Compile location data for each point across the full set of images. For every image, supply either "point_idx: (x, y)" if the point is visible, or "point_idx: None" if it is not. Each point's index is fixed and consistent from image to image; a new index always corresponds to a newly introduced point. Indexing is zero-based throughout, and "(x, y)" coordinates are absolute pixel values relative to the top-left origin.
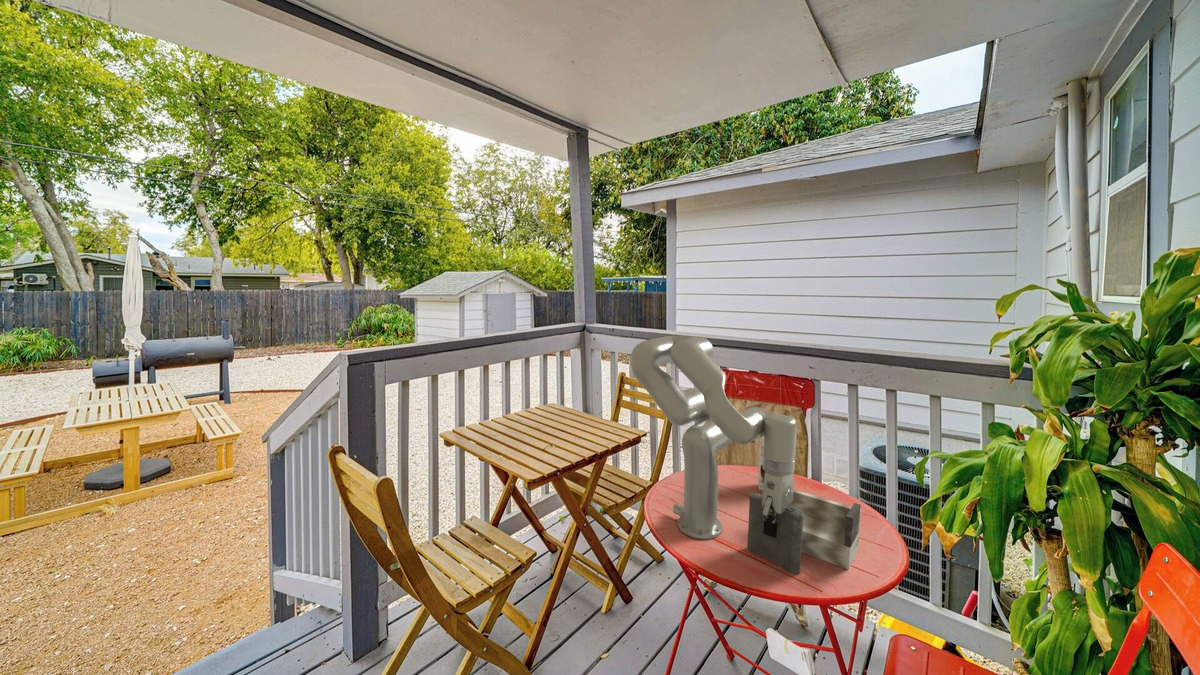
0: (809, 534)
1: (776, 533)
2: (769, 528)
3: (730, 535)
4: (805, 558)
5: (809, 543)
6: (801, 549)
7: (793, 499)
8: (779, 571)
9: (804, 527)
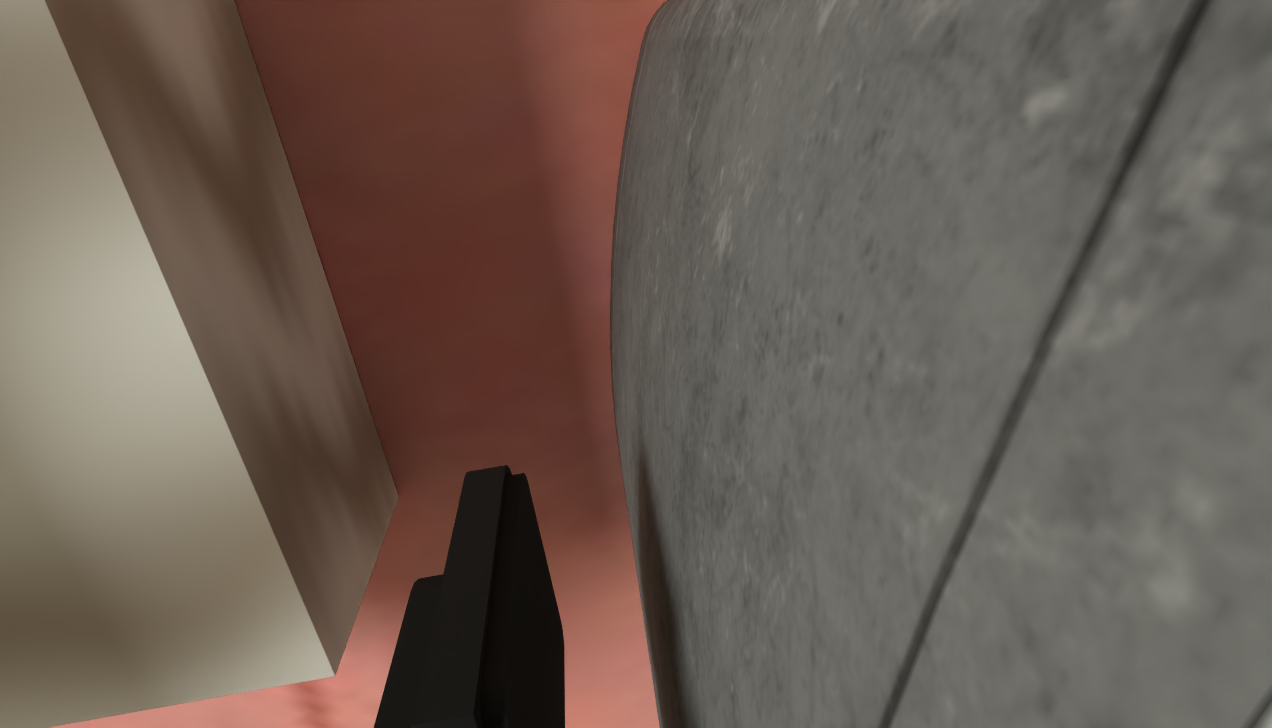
0: (104, 116)
1: None
2: None
3: (631, 706)
4: (370, 75)
5: (187, 93)
6: (280, 181)
7: None
8: None
9: (7, 279)
